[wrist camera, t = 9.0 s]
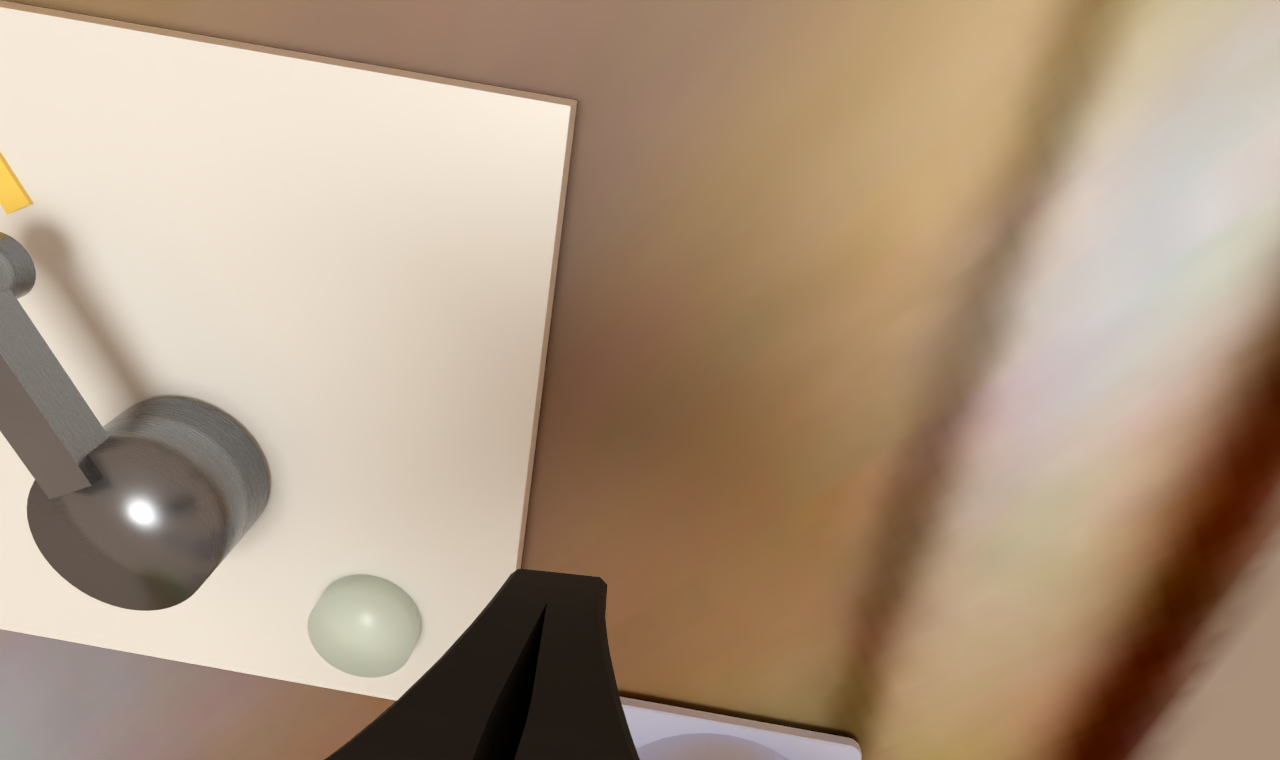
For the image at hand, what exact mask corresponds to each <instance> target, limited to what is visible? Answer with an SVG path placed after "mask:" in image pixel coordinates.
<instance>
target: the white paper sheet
mask: <svg viewBox="0 0 1280 760" xmlns="http://www.w3.org/2000/svg"><path fill="white" fill-rule="evenodd" d="M576 109H577V100H573V99H567V98H561V97H555V96H550V95H544V94H538V93H532V92H527V91H521V90H515V89H509V88H503V87H498V86H492V85H486V84H480V83H475V82H469V81H463V80H457V79H452V78H446V77H440V76H434V75H429V74H423V73H417V72H411V71H406V70H400V69H394V68H388V67H383V66H377V65H371V64H365V63H359V62H354V61H348V60H342V59H336V58H331V57H325V56H319V55H313V54H308V53H302V52H296V51H290V50H285V49H279V48H273V47H267V46H262V45H256V44H250V43H244V42H239V41H233V40H227V39H221V38H216V37H210V36H204V35H198V34H192V33H187V32H181V31H175V30H169V29H164V28H158V27H152V26H146V25H141V24H135V23H129V22H123V21H118V20H112V19H106V18H100V17H95V16H89V15H83V14H77V13H72V12H66V11H60V10H54V9H49V8H43V7H37V6H31V5H25V4H20V3H14V2H8V1H2V0H0V232H2V233H5V234H7V235H9V236H11V237H12V238H14V239H15V240H17V241H18V242H19V243H20V244H21V245H22V246H23V247H24V248H25V249H26V250H27V252H28V253H29V255H30V257H31V258H32V261H33V263H34V266H35V271H36V280H35V284H34V286H33V288H32V290H31V291H30V292H29V293H28V294H26V295H25V296H23V297H20V298H18V299H17V300H18V301H19V303H20V304H21V306H22V307H23V309H24V310H25V312H26V313H27V315H28V316H29V318H30V319H31V321H32V322H33V324H34V325H35V327H36V328H37V330H38V331H39V333H40V334H41V336H42V337H43V339H44V340H45V342H46V343H47V345H48V346H49V348H50V349H51V351H52V352H53V354H54V355H55V357H56V358H57V360H58V361H59V363H60V364H61V366H62V367H63V369H64V370H65V372H66V373H67V375H68V376H69V377H70V379H71V380H72V382H73V383H74V385H75V386H76V388H77V389H78V391H79V392H80V394H81V395H82V397H83V398H84V400H85V401H86V403H87V404H88V406H89V407H90V409H91V410H92V412H93V413H94V415H95V416H96V418H97V419H98V421H99V422H100V424H101V425H102V427H103V426H104V425H106V424H107V423H108V422H110V421H111V420H113V419H114V418H115V417H117V416H118V415H119V414H121V413H122V412H124V411H125V410H126V409H128V408H129V407H131V406H133V405H134V404H137V403H139V402H141V401H144V400H148V399H152V398H160V397H174V398H182V399H187V400H191V401H195V402H197V403H200V404H203V405H206V406H208V407H210V408H212V409H214V410H216V411H218V412H219V413H221V414H222V415H224V416H226V417H227V418H228V419H230V420H231V421H232V422H234V423H235V424H236V425H237V426H238V427H239V428H240V429H241V430H242V431H243V432H244V433H245V434H246V435H247V436H248V437H249V439H250V440H251V441H252V443H253V444H254V446H255V447H256V448H257V450H258V452H259V454H260V456H261V458H262V460H263V463H264V465H265V468H266V472H267V477H268V486H269V488H268V498H267V502H266V505H265V508H264V510H263V512H262V514H261V516H260V517H259V519H258V520H257V521H256V522H255V523H254V525H253V526H252V527H251V528H250V529H249V530H248V532H247V533H246V534H245V535H244V536H243V538H242V539H241V540H240V541H239V542H238V543H237V545H236V546H235V547H234V548H233V549H232V550H231V552H230V553H229V554H228V555H227V556H226V557H225V559H224V560H223V561H222V562H221V563H220V564H219V566H218V567H217V568H216V569H215V570H214V571H213V573H212V574H211V575H210V576H209V577H208V579H207V580H206V581H205V582H204V583H203V584H202V586H201V587H200V588H199V589H198V590H197V591H196V592H195V593H194V594H193V595H192V596H191V597H190V598H188V599H187V600H185V601H183V602H182V603H180V604H178V605H175V606H172V607H170V608H165V609H161V610H151V611H139V610H130V609H124V608H120V607H116V606H113V605H110V604H107V603H104V602H101V601H99V600H97V599H95V598H92V597H91V596H89V595H87V594H85V593H83V592H82V591H80V590H79V589H77V588H76V587H74V586H73V585H71V584H70V583H69V582H68V581H66V580H65V579H64V578H63V577H61V576H60V575H59V574H58V573H57V572H56V571H55V570H54V569H53V568H52V566H51V565H50V564H49V563H48V562H47V560H46V559H45V558H44V556H43V555H42V553H41V552H40V550H39V549H38V547H37V545H36V543H35V541H34V539H33V536H32V534H31V531H30V528H29V524H28V519H27V499H28V495H29V492H30V489H31V487H32V485H33V482H34V481H35V479H34V477H33V476H32V474H31V473H30V472H29V470H28V469H27V467H26V466H25V465H24V463H23V462H22V461H21V459H20V458H19V456H18V455H17V454H16V452H15V451H14V449H13V448H12V447H11V445H10V444H9V442H8V441H7V440H6V438H5V437H4V436H3V434H2V433H1V431H0V629H4V630H9V631H15V632H20V633H26V634H31V635H37V636H42V637H48V638H53V639H59V640H64V641H70V642H76V643H81V644H87V645H92V646H98V647H103V648H109V649H114V650H120V651H125V652H131V653H136V654H142V655H147V656H153V657H158V658H164V659H170V660H175V661H181V662H186V663H192V664H197V665H203V666H208V667H214V668H219V669H225V670H230V671H236V672H241V673H247V674H253V675H258V676H264V677H269V678H275V679H280V680H286V681H291V682H297V683H302V684H308V685H313V686H319V687H324V688H330V689H335V690H341V691H347V692H352V693H358V694H363V695H369V696H374V697H380V698H385V699H391V700H396V701H397V700H398V699H399V698H400V697H401V696H402V695H403V694H404V693H405V692H406V691H407V690H408V689H409V688H410V687H411V686H412V685H413V684H415V683H416V682H417V681H418V680H419V679H420V678H421V677H422V676H423V675H424V674H425V673H426V672H427V671H428V670H429V669H430V668H431V667H432V666H433V665H434V664H435V663H436V662H437V661H438V660H439V659H440V658H441V657H442V656H443V655H444V653H445V652H446V651H447V650H448V649H449V648H450V647H451V646H452V645H453V644H454V642H455V641H456V640H457V639H458V638H459V637H460V636H461V635H462V634H463V633H464V631H465V630H466V629H467V628H468V627H469V626H470V625H471V624H472V622H473V621H474V620H475V619H476V618H477V617H478V615H479V614H480V613H481V612H482V611H483V609H484V608H485V607H486V606H487V605H488V603H489V602H490V601H491V600H492V598H493V597H494V596H495V595H496V593H497V592H498V591H499V589H500V588H501V587H502V585H503V584H504V583H505V581H506V580H507V579H508V577H509V576H510V574H512V573H513V572H514V571H516V570H517V569H521V562H522V554H523V546H524V537H525V529H526V521H527V513H528V504H529V496H530V488H531V480H532V471H533V463H534V455H535V447H536V438H537V430H538V422H539V414H540V406H541V397H542V389H543V381H544V373H545V364H546V356H547V348H548V340H549V331H550V323H551V315H552V307H553V298H554V290H555V282H556V274H557V265H558V257H559V249H560V241H561V232H562V224H563V216H564V208H565V199H566V191H567V183H568V175H569V166H570V158H571V150H572V142H573V133H574V125H575V117H576Z"/></svg>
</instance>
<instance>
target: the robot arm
mask: <svg viewBox="0 0 1280 760" xmlns="http://www.w3.org/2000/svg"><path fill="white" fill-rule="evenodd" d="M606 594H607V584H606V583H605V582H604V581H603V580H602V579H601V578H600V577H592V576H583V575H574V574H564V573H555V572H545V571H536V570H527V569H517V570H516V571H514V572H513V573H512V574H510V576H509V577H508V579H507V580H506V581H505V583H504V584H503V585H502V587H501V588H500V589H499V591H498V592H497V593H496V595H495V596H494V597H493V598H492V600H491V601H490V602H489V603H488V605H487V606H486V607H485V608H484V609H483V611H482V612H481V613H480V614H479V615H478V617H477V618H476V619H475V620H474V621H473V622H472V624H471V625H470V626H469V627H468V628H467V629H466V630H465V631H464V633H463V634H462V635H461V636H460V637H459V638H458V639H457V640H456V641H455V642H454V644H453V645H452V646H451V647H450V648H449V649H448V650H447V651H446V652H445V653H444V655H443V656H442V657H441V658H440V659H439V660H438V661H437V662H436V663H435V664H434V665H433V666H432V667H431V668H430V669H429V670H428V671H427V672H426V673H425V674H424V675H423V676H422V677H421V678H420V679H419V680H418V681H417V682H416V683H415V684H413V685H412V686H411V687H410V688H409V689H408V690H407V691H406V692H405V693H404V694H403V695H402V696H401V697H400V698H399V699H398V700H397V701H396V702H395V703H394V704H392V705H391V706H390V707H389V708H388V709H387V710H386V711H385V712H383V713H382V714H381V715H380V716H379V717H378V718H377V719H375V720H374V721H373V722H372V723H371V724H369V725H368V726H367V727H366V728H365V729H363V730H362V731H361V732H360V733H358V734H357V735H356V736H355V737H354V738H352V739H351V740H350V741H349V742H347V743H346V744H345V745H344V746H342V747H341V748H340V749H338V750H337V751H336V752H334V753H333V754H331V755H330V756H329V757H327V758H326V759H325V760H861V758H862V754H861V749H860V746H859V744H858V743H857V742H856V741H855V740H854V739H851V738H848V737H842V736H837V735H831V734H826V733H820V732H814V731H809V730H803V729H798V728H792V727H787V726H781V725H776V724H770V723H764V722H759V721H753V720H748V719H742V718H737V717H731V716H726V715H720V714H715V713H709V712H703V711H698V710H692V709H687V708H681V707H676V706H670V705H665V704H659V703H654V702H648V701H642V700H637V699H631V698H626V697H620V696H619V692H618V689H617V685H616V680H615V675H614V671H613V666H612V662H611V657H610V652H609V646H608V639H607V631H606V622H605V610H606Z"/></svg>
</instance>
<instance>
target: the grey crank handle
mask: <svg viewBox="0 0 1280 760" xmlns="http://www.w3.org/2000/svg"><path fill="white" fill-rule="evenodd" d="M35 280H36V271H35V266H34V263H33V261H32V258H31V257H30V255H29V253H28V252H27V250H26V249H25V248H24V247H23V246H22V245H21V244H20V243H19V242H18V241H17V240H15V239H14V238H12V237H11V236H9V235H7V234H5V233H2V232H0V431H1V433H2V434H3V436H4V437H5V438H6V440H7V441H8V442H9V444H10V445H11V447H12V448H13V449H14V451H15V452H16V454H17V455H18V456H19V458H20V459H21V461H22V462H23V463H24V465H25V466H26V467H27V469H28V470H29V472H30V473H31V474H32V476H33V477H34V479H35V481H34V482H33V485H32V487H31V489H30V492H29V495H28V499H27V519H28V524H29V528H30V531H31V534H32V536H33V539H34V541H35V543H36V545H37V547H38V549H39V550H40V552H41V553H42V555H43V556H44V558H45V559H46V560H47V562H48V563H49V564H50V565H51V566H52V568H53V569H54V570H55V571H56V572H57V573H58V574H59V575H60V576H61V577H63V578H64V579H65V580H66V581H68V582H69V583H70V584H71V585H73V586H74V587H76V588H77V589H79V590H80V591H82V592H83V593H85V594H87V595H89V596H91V597H92V598H95V599H97V600H99V601H101V602H104V603H107V604H110V605H113V606H116V607H120V608H124V609H130V610H139V611H151V610H161V609H165V608H170V607H172V606H175V605H178V604H180V603H182V602H183V601H185V600H187V599H188V598H190V597H191V596H192V595H193V594H194V593H195V592H196V591H197V590H198V589H199V588H200V587H201V586H202V584H203V583H204V582H205V581H206V580H207V579H208V577H209V576H210V575H211V574H212V573H213V571H214V570H215V569H216V568H217V567H218V566H219V564H220V563H221V562H222V561H223V560H224V559H225V557H226V556H227V555H228V554H229V553H230V552H231V550H232V549H233V548H234V547H235V546H236V545H237V543H238V542H239V541H240V540H241V539H242V538H243V536H244V535H245V534H246V533H247V532H248V530H249V529H250V528H251V527H252V526H253V525H254V523H255V522H256V521H257V520H258V519H259V517H260V516H261V514H262V512H263V510H264V508H265V505H266V502H267V498H268V488H269V486H268V477H267V472H266V468H265V465H264V463H263V460H262V458H261V456H260V454H259V452H258V450H257V448H256V447H255V446H254V444H253V443H252V441H251V440H250V439H249V437H248V436H247V435H246V434H245V433H244V432H243V431H242V430H241V429H240V428H239V427H238V426H237V425H236V424H235V423H234V422H232V421H231V420H230V419H228V418H227V417H226V416H224V415H222V414H221V413H219V412H218V411H216V410H214V409H212V408H210V407H208V406H206V405H203V404H200V403H197V402H195V401H191V400H187V399H182V398H174V397H160V398H152V399H148V400H144V401H141V402H139V403H137V404H134V405H133V406H131V407H129V408H128V409H126V410H125V411H124V412H122V413H121V414H119V415H118V416H117V417H115V418H114V419H113V420H111V421H110V422H108V423H107V424H106V425H104V426H103V427H102V425H101V424H100V422H99V421H98V419H97V418H96V416H95V415H94V413H93V412H92V410H91V409H90V407H89V406H88V404H87V403H86V401H85V400H84V398H83V397H82V395H81V394H80V392H79V391H78V389H77V388H76V386H75V385H74V383H73V382H72V380H71V379H70V377H69V376H68V375H67V373H66V372H65V370H64V369H63V367H62V366H61V364H60V363H59V361H58V360H57V358H56V357H55V355H54V354H53V352H52V351H51V349H50V348H49V346H48V345H47V343H46V342H45V340H44V339H43V337H42V336H41V334H40V333H39V331H38V330H37V328H36V327H35V325H34V324H33V322H32V321H31V319H30V318H29V316H28V315H27V313H26V312H25V310H24V309H23V307H22V306H21V304H20V303H19V301H18V300H17V299H18V298H20V297H23V296H25V295H26V294H28V293H29V292H30V291H31V290H32V288H33V286H34V284H35Z"/></svg>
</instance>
